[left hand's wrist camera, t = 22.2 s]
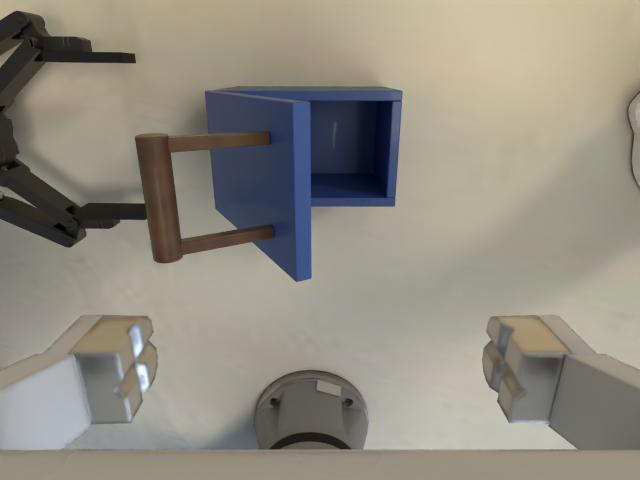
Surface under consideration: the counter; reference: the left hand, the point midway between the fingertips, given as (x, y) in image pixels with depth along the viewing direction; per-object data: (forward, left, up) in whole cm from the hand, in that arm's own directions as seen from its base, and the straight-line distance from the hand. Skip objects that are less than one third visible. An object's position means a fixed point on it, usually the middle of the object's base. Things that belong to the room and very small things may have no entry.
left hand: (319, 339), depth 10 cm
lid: (+2, -4, -20) cm, 20 cm away
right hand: (+7, -15, -31) cm, 35 cm away
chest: (0, -1, -38) cm, 38 cm away
